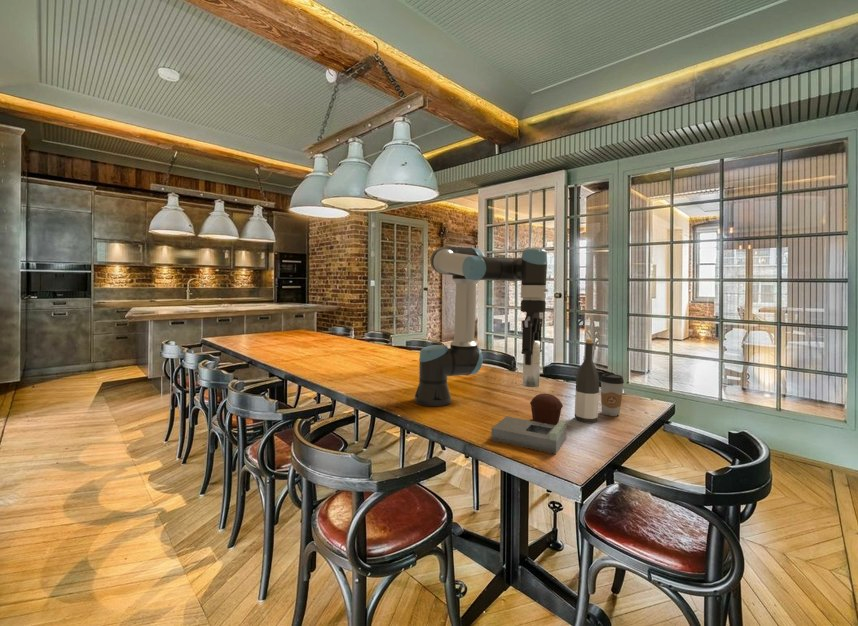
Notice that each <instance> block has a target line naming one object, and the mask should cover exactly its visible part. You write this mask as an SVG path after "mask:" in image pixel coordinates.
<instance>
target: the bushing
mask: <svg viewBox="0 0 858 626" xmlns="http://www.w3.org/2000/svg"><path fill="white" fill-rule="evenodd" d="M533 354H534V365H533V376H528V375H524V354H522V355H523V362H522V367H523V368H522V386H523V387H527V388H538V387H540V371H541V370H540V369H541V367H540V366H541V364H540V363H541V352H540V341H537V340H534V345H533Z"/></svg>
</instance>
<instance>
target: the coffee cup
mask: <svg viewBox="0 0 858 626" xmlns="http://www.w3.org/2000/svg"><path fill="white" fill-rule="evenodd" d="M599 382H600V401H601V402H600V403H601V404H600V405H601V412H602V414H603V415H604V416H609V415H610V417H617V415H618V416H620V413H621V412H620V411H621V406H622V405H621V404H622V399H623V387H624V383H625V382H624V377H623V375H622V374H621V375H620V374H616V373H603V374H601V377H600V379H599Z"/></svg>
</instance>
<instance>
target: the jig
mask: <svg viewBox="0 0 858 626" xmlns="http://www.w3.org/2000/svg"><path fill="white" fill-rule="evenodd" d="M567 424H568V421H567V420H563V419H561V420H560V419H559V422H558V424H557V425H551V424H546V423H540V422H535V421H533V420H529V419H523V418H518V417H511V416H505V417H504V418H502V419H501V420H499V422H497V423H496V424H495V425H494V426H493V427H491V430H490V431H491V433H490V435H491V436H490V440H492V441H491V442H496V441H497V443H500V442H502V444H505V443H507V444H506V445H510V444H512V445H511V446H514V445H517V446H516V447H519V446H522V447H521V448H523V447H527V448H526V449H528V448H531V449H530V450H533V449H535V450H534V451H537V450H540V451H539V452H542V451H545V452H544V453H547V452H548V454H551V453H553V454H552V455H557V454H558V453H559V451H560V449H561V448H560V447H562V446H563V445H564V443H565V442H566V440H567V426H568V425H567ZM558 450H559V451H558ZM556 453H557V454H556Z"/></svg>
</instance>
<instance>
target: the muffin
mask: <svg viewBox="0 0 858 626" xmlns="http://www.w3.org/2000/svg"><path fill="white" fill-rule="evenodd" d="M529 403H530V406H531V407H530V408H531V409H530V410H531V416H532V421H535V422H540V423H546V424H551V425H557V424H558V422H559V421H560V417H561V412H562V409H563V407H564V405H563V403H562V401H561V399H559V398H558V397H557V396H555V395H553V394H551V393H539V394H537V395H535V396H534V397H533V398H532V399H531V401H530V402H529Z"/></svg>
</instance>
